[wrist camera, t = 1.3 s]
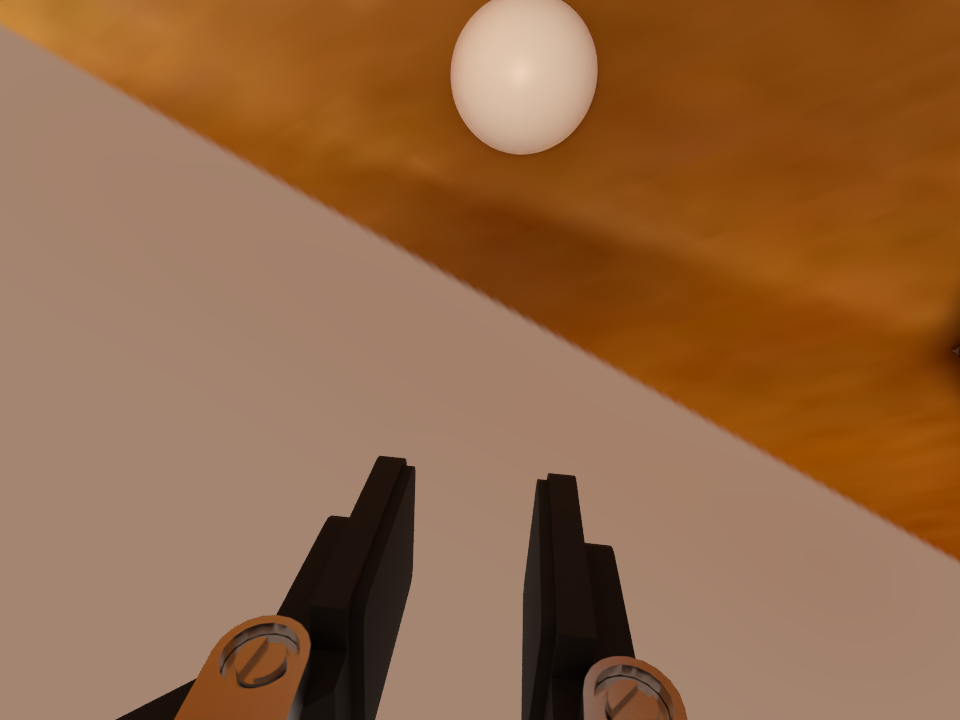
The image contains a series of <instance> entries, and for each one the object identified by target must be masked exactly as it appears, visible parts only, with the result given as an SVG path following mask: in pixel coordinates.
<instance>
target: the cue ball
mask: <svg viewBox="0 0 960 720" xmlns="http://www.w3.org/2000/svg"><path fill="white" fill-rule="evenodd" d="M450 72H451V88H452V94H453V98H454V102H455V105H456V107H457V110H458V112H459V114H460V116H461V118H462V120H463V121H464V123H465V124H466V125H467V127H468V128H469V129H470V130H471V132H472V133H473V134H474V135H475V136H476V137H477V138H479V139H480V140H481V141H482V142H484V143H485V144H487V145H488V146H490V147H492V148H494V149H496V150H499V151H502V152H505V153H510V154H523V155H526V154H533V153H538V152H541V151H545V150H547V149H549V148H552V147H554V146H555V145H557V144H559V143H560V142H562V141H563V140H564V139H566V138H567V137H568V136H569V135H570V134H571V133H572V132H573V131H574V130H575V129H576V128H577V127H578V125H579V124H580V123H581V121H582V120H583V118H584V117H585V115H586V113H587V112H588V109H589V107H590V105H591V103H592V100H593V97H594V93H595V89H596V84H597V75H598V64H597V55H596V49H595V46H594V42H593V39H592V37H591V34H590V32H589V30H588V28H587V26H586V25H585V23H584V21H583V20H582V19H581V17H580V16H579V15H578V14H577V13H576V11H575V10H573V9H572V8H571V7H570V6H569V5H568V4H566V3H565V2H563V1H562V0H491V1H489V2H488V3H486V4H485V5H483V6H482V7H481V8H480V9H479V10H478V11H477V12H476V13H475V14H474V15H473V16H472V17H471V18H470V19H469V21H468V22H467V24H466V25H465V27H464V28H463V30H462V32H461V34H460V36H459V38H458V40H457V43H456V45H455V48H454V52H453V56H452V61H451V71H450Z"/></svg>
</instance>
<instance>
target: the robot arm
mask: <svg viewBox="0 0 960 720" xmlns="http://www.w3.org/2000/svg"><path fill="white" fill-rule="evenodd" d="M414 504H415V467H414V466H407V462H406V459H405V458H396V457H386V456H379V457H378V458H377V460H376V462H375V464H374V467H373V469H372V471H371V473H370V475H369V478H368V479H367V481H366V484H365V486H364V488H363V490H362V492H361V494H360V496H359V499H358V500H357V503H356V505H355V507H354V509H353V511H352V513H351V516H350V517H340V516H330V517H328V519H327V521H326V522H325V524H324V526H323V528H322V529H321V531H320V533H319V535H318V537H317V539H316V541H315V543H314V545H313V547H312V548H311V550H310V552H309V554H308V556H307V558H306V560H305V562H304V563H303V565H302V567H301V569H300V571H299V573H298V575H297V577H296V579H295V581H294V582H293V585H292V586H291V588H290V590H289V592H288V594H287V596H286V598H285V600H284V601H283V603H282V605H281V607H280V609H279V611H278V613H277V615H272V616H261V617H258V618H254V619H250V620H247V621H245V622H244V623H242V624H240V625H238V626H236V627H234V628H233V629H231V630H230V631H229V632H228V633H227V634H225V635H224V636H223V637H222V638H221V639H220V640H219V642H218V643H217V644H216V646H215V647H214V648H213V650H212V651H211V654H210V655H209V657H208V659H207V660H206V663H205V664H204V666H203V668H202V670H201V671H200V673H199V675H198V677H197V678H196V679H194V680H193V681H191V682H189V683H187V684H185V685H183V686H181V687H179V688H177V689H175V690H173V691H171V692H169V693H167V694H165V695H163V696H161V697H159V698H157V699H155V700H153V701H152V702H149V703H147V704H145V705H143V706H142V707H140V708H138V709H136V710H134V711H132V712H130V713H128V714H126V715H124V716H122V717H120V718H118V719H116V720H375V718H376V714H377V710H378V707H379V703H380V699H381V695H382V691H383V688H384V684H385V680H386V676H387V672H388V669H389V665H390V661H391V657H392V653H393V650H394V646H395V642H396V638H397V635H398V631H399V627H400V623H401V619H402V615H403V612H404V608H405V604H406V600H407V597H408V593H409V589H410V585H411V579H412V571H413V542H414V539H413V538H414V506H415V505H414ZM522 651H523V652H522V720H687V716H686V712H685V707H684V704H683V702H682V699H681V696H680V694H679V692H678V691H677V689H676V688H675V687H674V685H673V684H672V682H671V681H670V680H669V679H668V678H667V677H666V676H665V675H663V673H661V672H660V671H659V670H658V669H656V668H655V667H653V666H651V665H649V664H648V663H646V662H644V661H642V660H638V659H635V654H634V649H633V645H632V639H631V634H630V630H629V624H628V620H627V614H626V610H625V605H624V600H623V595H622V590H621V585H620V580H619V575H618V570H617V565H616V560H615V555H614V551H613V548H612V547H611V546H608V545H599V544H590V543H585V542H584V535H583V527H582V520H581V513H580V505H579V498H578V490H577V483H576V477H575V476H572V475H562V474H552V473H549V474H548V476H547V480H540V479H538V480H537V485H536V492H535V501H534V508H533V516H532V524H531V532H530V541H529V548H528V557H527V564H526V572H525V581H524V593H523V647H522Z"/></svg>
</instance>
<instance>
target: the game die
mask: <svg viewBox="0 0 960 720" xmlns="http://www.w3.org/2000/svg"><path fill="white" fill-rule="evenodd" d="M951 351H953V352H954V353H956V354H957V355H959V357H960V347H958V348H956V349H953V350H951Z"/></svg>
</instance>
